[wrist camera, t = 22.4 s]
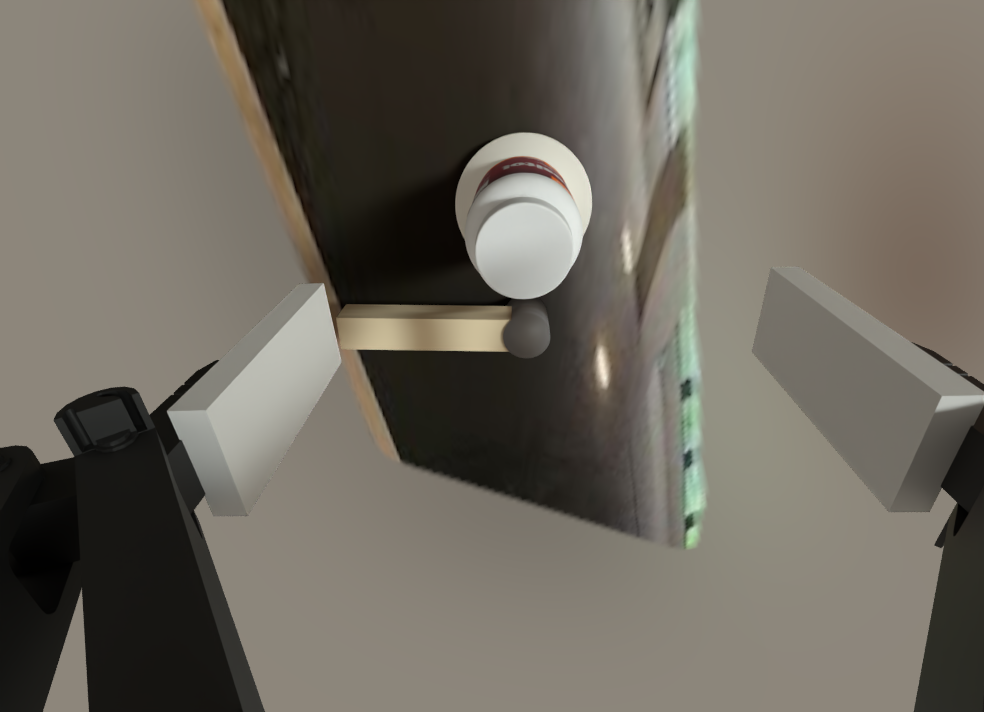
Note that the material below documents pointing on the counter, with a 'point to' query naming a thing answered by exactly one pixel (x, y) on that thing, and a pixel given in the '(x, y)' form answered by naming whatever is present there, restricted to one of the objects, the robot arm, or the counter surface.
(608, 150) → the counter surface
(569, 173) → the seat pad
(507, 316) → the hinged leg
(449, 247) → the counter surface
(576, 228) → the pill bottle
